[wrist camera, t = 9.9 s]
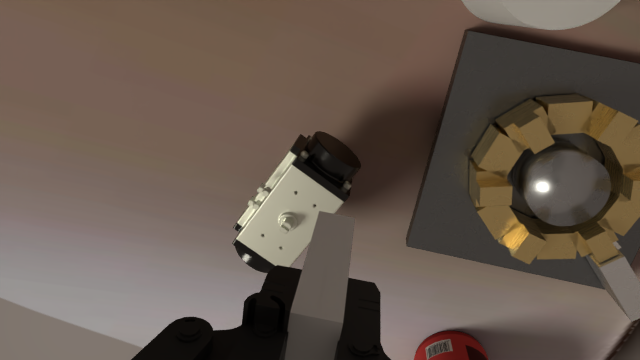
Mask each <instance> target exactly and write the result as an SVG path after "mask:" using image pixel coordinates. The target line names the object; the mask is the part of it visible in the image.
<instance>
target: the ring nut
mask: <svg viewBox="0 0 640 360" xmlns="http://www.w3.org/2000/svg"><path fill="white" fill-rule="evenodd" d="M495 120H496V122H497V124H498V125H499V127H500V128H498V127H496V126H494V125H492V124H490V126H489V128H488V129H487V131H486V132H485V134H484V136H483V137H482V139H481V140H480V142H479V144H478V145H477V147H476V148H475V150H474V152H473V153H472V155H471V156H472V157H473V159H474V160H470V167H469V194H470V196H471V200H472V202H473V204H474V206H475V209H476V211H477V212H478V214H479V216H480V217H481V219H482V220H483V222H484V223H485V225H486V226H487V228H488V229H489V231H490V232H491V234H492V236H493V237H494V239H495V240H496V239H497V240H498V242H499V243H500V244H502V245H504V246H506V247H507V248H508V250H509V251H510V253H511V255H512V257H515V258H517V259H519V260H521V261H523V262H525V263H527V264H530V263H531V262H532V260H533V259H534V258H535V257H536V259H576V252H578V253H579V255H580V256H581V257H583V256H585V257H586V259H587V260H588V262H589V264H590V265H591V267H592V269H593V270H594V272H595V274H596V275H597V277H598V279H599V280H600V282H601V284H602V285H603V287H604V288H605V290H606V291H607V292H608V293H609V295H610V296H611V297H612V298H613V299H614V301H615V302H616V303H617V304H618V306H619V307H620V308H621V309H622V311H623V312H624V313H625V314H626V316H627V317H628V318H629V319H630V321H631V322H632V321H634V320H637V319H639V318H640V282H639V281H638V279H637V277H636V275H635V274H634V272H633V270H632V268H631V267H630V265H629V263H628V261H627V260H626V258H625V256H624V255H623V254H622V253H621V252H620V251H619V250H618V249H617V248H616V247H615V246H614V244H613V242H615V241H618V238H617V236H616V235H615V233H614V232H616V233H618V234H620V235H622V236H624V235H625V234H626V233H627V232H628V230H629V229H630V228H631V227H632V226H633V224H634V223H635V222H636V221H637V220H638V218H639V217H640V124H638V123H637V122H638V120H636V119H634V118H632V117H630V116H628V115H626V114H624V113H622V112H619V111H617V110H615V109H613V108H610V107H608V106H606V105H604V104H602V103H600V102H598V101H595V100H593V99H590V98H588V97H586V96H583V95H582V96H580V95H578V94H571V95H557V96H543V97H536V102H534V101H533V100H531V99H529V100H527V101H526V102H524V103H522V104H521V105H519V106H517V107H515V108H514V109H512V110H510V111H509V112H507V113H505V114H504V115H502V116H500V117H499V118H497V119H495ZM572 133H585V134H588V135H589V136H591V137H593V138H594V139H595V140H596V141H597V143H598V145H599V147H600V149H601V151H602V152H603V154H604V156H605V165H604V167H605V169H606V170H607V172H608V174H609V176H610V180H611V191H610V195H609V198H608V200H607V202H606V204H605V205H604V207H603V208H602V209H601V210H600V211H599V212H598V213H597V214H596V215H595V216H594V217H592V218H591V219H589V220H587V221H585V222H583V223H580V224H577V225H572V226H556V225H552V224H549V223H546V222H544V221H543V220H541V219H532V218H530V217H528V216H526V215H524V214H521V213H519V212H517V211H515V210H513V209H511V208H510V207H509V205H512V187H513V186H512V185H511V184H510V182H509V181H508V180H507V175H508V173H509V172H510V170H511V169H512V167H513V166H514V164H515V163H516V161H517V160H518V158H519V157H520V155H521V154H522V152H523V151H524V150H525V149H527V148H528V149H530V150H531V151H532V152H533V153H534V154H536V153H537V152H539V151H541V150H543V149H545V148H546V147H548V146H550V145H552V144H554V143H555V142H554V140H553V138H552V137H551V135H555V134H572Z"/></svg>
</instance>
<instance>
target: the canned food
mask: <svg viewBox="0 0 640 360" xmlns="http://www.w3.org/2000/svg"><path fill="white" fill-rule="evenodd" d="M414 360H488V357H487V354H486V352H485V350H484V349H483V347H482V346H481V345H480V343H479V342H478V341H477V340H476V339H474V338H473V337H472V336H470V335H468V334H466V333H463V332H458V331H443V332H439V333H436V334H433V335H431V336H429V337H428V338H426V339H425V340H424V341H423V342H422V343H421V344H420V345H419V347H418V349H417V351H416V354H415V357H414Z"/></svg>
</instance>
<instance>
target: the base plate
mask: <svg viewBox="0 0 640 360" xmlns="http://www.w3.org/2000/svg"><path fill="white" fill-rule="evenodd" d="M571 94H578V95H580V96H582V95H583V96H586V97H588V98H590V99H593V100H595V101H598V102H600V103H602V104H604V105H606V106H608V107H610V108H613V109H615V110H617V111H619V112H622V113H624V114H626V115H628V116H630V117H632V118H634V119H636V120H638V122H637V123H638V124H640V64H639V63H634V62H629V61H624V60H619V59H613V58H608V57H603V56H598V55H593V54H587V53H582V52H577V51H572V50H567V49H561V48H556V47H551V46H546V45H541V44H535V43H530V42H525V41H520V40H515V39H509V38H504V37H499V36H494V35H489V34H484V33H478V32H473V31H468V30H465V32H464V35H463V39H462V42H461V46H460V50H459V53H458V57H457V60H456V64H455V67H454V71H453V74H452V78H451V81H450V85H449V88H448V92H447V95H446V99H445V102H444V106H443V110H442V113H441V117H440V120H439V124H438V127H437V131H436V134H435V138H434V141H433V145H432V148H431V152H430V155H429V159H428V162H427V166H426V169H425V173H424V177H423V180H422V184H421V187H420V191H419V194H418V198H417V201H416V205H415V208H414V212H413V215H412V219H411V222H410V226H409V229H408V233H407V237H406V245H407V246H408V247H412V248H417V249H422V250H426V251H431V252H435V253H440V254H445V255H449V256H454V257H458V258H463V259H468V260H472V261H477V262H481V263H486V264H491V265H495V266H500V267H504V268H509V269H514V270H518V271H523V272H527V273H532V274H536V275H541V276H546V277H550V278H555V279H559V280H564V281H569V282H573V283H578V284H582V285H587V286H592V287H596V288H601V289H605V288H604V287H603V285H602V284H601V282H600V280H599V279H598V277H597V275H596V274H595V272H594V270H593V269H592V267H591V265H590V264H589V262H588V260H587V259H586V257H585V256H583V257H581V256H580V255H579V253H578V252H576V259H536V257H535V258H534V259H533V260H532V262H531V263H530V264H527V263H525V262H523V261H521V260H519V259H517V258H515V257H512V255H511V253H510V251H509V250H508V248H507V247H506V246H504V245H502V244H500V243H499V242H498V240H497V239H496V240H495V239H494V237H493V236H492V234H491V232H490V231H489V229H488V228H487V226H486V225H485V223H484V222H483V220H482V219H481V217H480V216H479V214H478V212H477V211H476V209H475V206H474V204H473V202H472V200H471V196H470V194H469V167H470V160H474V159H473V157H472V156H471V155H472V153H473V152H474V150H475V148H476V147H477V145H478V144H479V142H480V140H481V139H482V137H483V136H484V134H485V132H486V131H487V129H488V128H489V126H490V124H492V125H494V126H496V127H498V128H500V127H499V125H498V124H497V122H496V120H495V119H497V118H499V117H500V116H502V115H504V114H505V113H507V112H509V111H510V110H512V109H514V108H515V107H517V106H519V105H521V104H522V103H524V102H526V101H527V100H529V99H531V100H533V101H534V102H536V97H543V96H557V95H571ZM551 137H552V138H553V140H554V142H555V143H554V144H552V145H550V146H548V147H546V148H545V149H543V150H541V151H539V152H537V153H536V154H534V153H533V152H532V151H531V150H530V149H528V148H527V149H525V150H524V151H523V152H522V154H521V155H520V157H519V158H518V160H517V161H516V163H515V164H514V166H513V167H512V169H511V170H510V172H509V173H508V175H507V180H508V181H509V182H510V184H511V185H512V186H513V187H512V205H509V207H510V208H511V209H513V210H515V211H517V212H519V213H521V214H524V215H526V216H528V217H530V218H532V219H541V220H543V221H544V222H546V223H549V224H552V225H556V226H572V225H577V224H580V223H583V222H585V221H587V220H589V219H591V218H592V217H594V216H595V215H596V214H597V213H598V212H599V211H600V210H601V209H602V208H603V207H604V205H605V204H606V202H607V200H608V198H609V195H610V191H611V180H610V176H609V174H608V172H607V170H606V169H605V167H604V165H605V156H604V154H603V152H602V151H601V149H600V147H599V145H598V143H597V141H596V140H595V139H594V138H593V137H591V136H589V135H588V134H585V133H572V134H555V135H551ZM614 233H615V235H616V236H617V238H618V241H615V242H613V244H614V246H615V247H616V248H617V249H618V250H619V251H620V252H621V253H622V254H623V255H624V256H625V258H626V260H627V261H628V263H629V265H631V263H632V261H633V259H634V257H635V255H636V253H637V252H638V250H639V248H640V217H639V218H638V220H637V221H636V222H635V223H634V224H633V226H632V227H631V228H630V229H629V230H628V232H627V233H626V234H625V235H624V236H622V235H620V234H618V233H616V232H614Z"/></svg>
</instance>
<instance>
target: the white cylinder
mask: <svg viewBox="0 0 640 360" xmlns="http://www.w3.org/2000/svg"><path fill="white" fill-rule="evenodd" d="M620 1H621V0H462V2H463V3H464V5H465V6H466V7H467V9H468V10H469V11H470V12H471V13H473V14H474V15H475V16H477V17H478V18H480V19H482V20H485V21H487V22H491V23H498V24H506V25H514V26H522V27H530V28H538V29H547V30H563V29H570V28H574V27H578V26H581V25H584V24H586V23H589V22H591V21H593V20H595V19H597V18H599V17H600V16H602V15H603V14H605V13H606V12H608V11H609V10H610V9H612V8H613V7H614V6H615V5H616V4H617V3H618V2H620Z"/></svg>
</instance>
